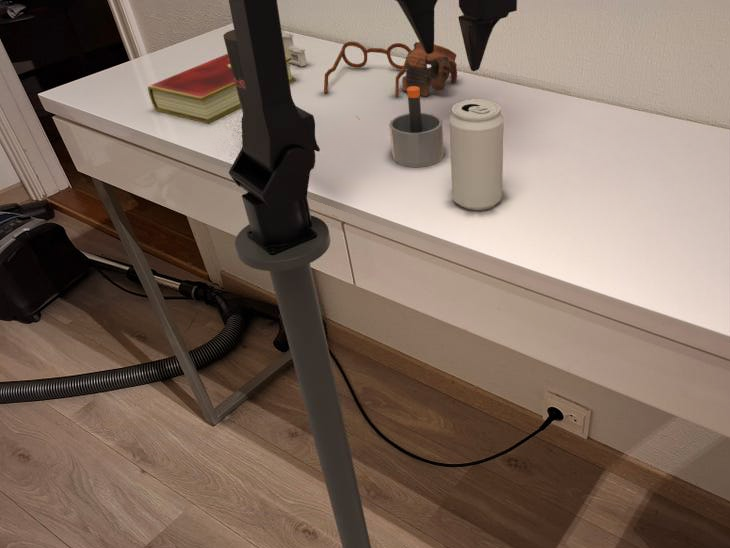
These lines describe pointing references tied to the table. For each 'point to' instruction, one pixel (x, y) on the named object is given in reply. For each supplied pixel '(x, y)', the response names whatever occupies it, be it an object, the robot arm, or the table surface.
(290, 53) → the garden wall model
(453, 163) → the beverage can
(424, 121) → the pen pot
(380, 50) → the glasses
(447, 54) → the brown jagged blocky figurine
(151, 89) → the hardcover book
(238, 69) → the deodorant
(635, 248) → the table surface
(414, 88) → the rod
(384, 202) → the table surface
